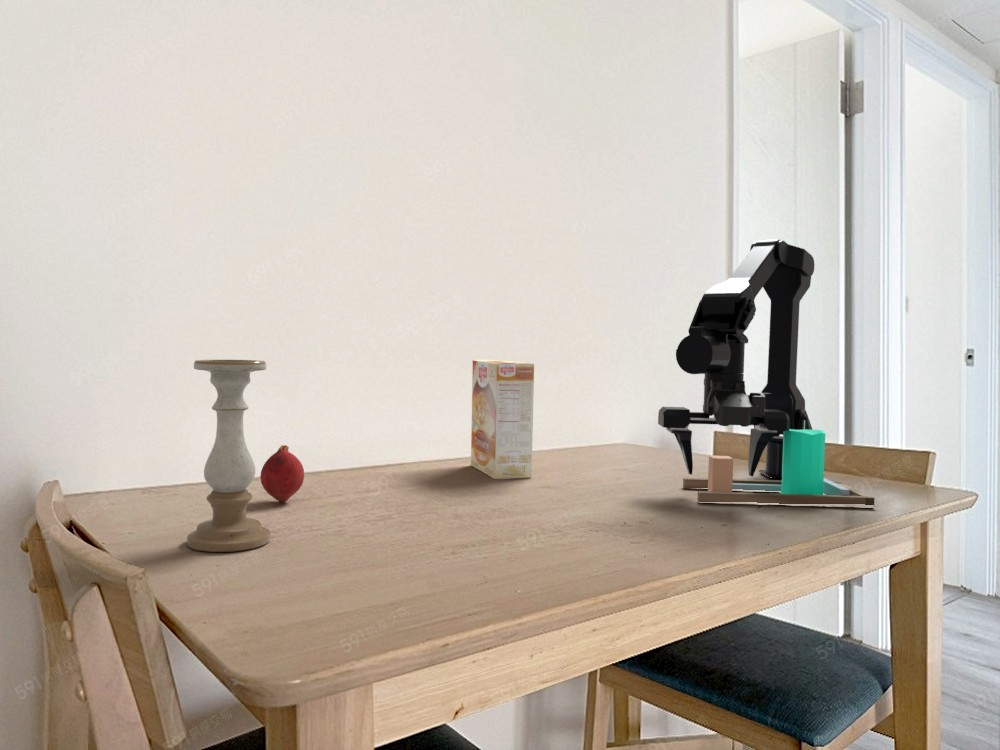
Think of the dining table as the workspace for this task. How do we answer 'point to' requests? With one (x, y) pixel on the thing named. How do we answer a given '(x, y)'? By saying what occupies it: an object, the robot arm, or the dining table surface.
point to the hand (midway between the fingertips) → (720, 474)
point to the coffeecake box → (502, 418)
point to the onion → (282, 474)
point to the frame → (723, 482)
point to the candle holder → (229, 464)
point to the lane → (705, 496)
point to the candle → (803, 462)
